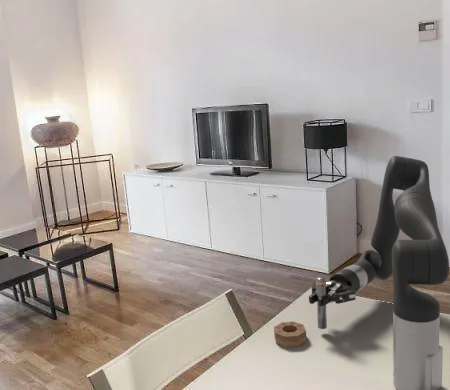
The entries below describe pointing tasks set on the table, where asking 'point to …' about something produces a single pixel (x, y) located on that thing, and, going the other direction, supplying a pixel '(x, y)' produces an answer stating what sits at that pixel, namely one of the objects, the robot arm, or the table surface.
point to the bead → (290, 334)
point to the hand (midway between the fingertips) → (315, 301)
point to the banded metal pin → (320, 310)
